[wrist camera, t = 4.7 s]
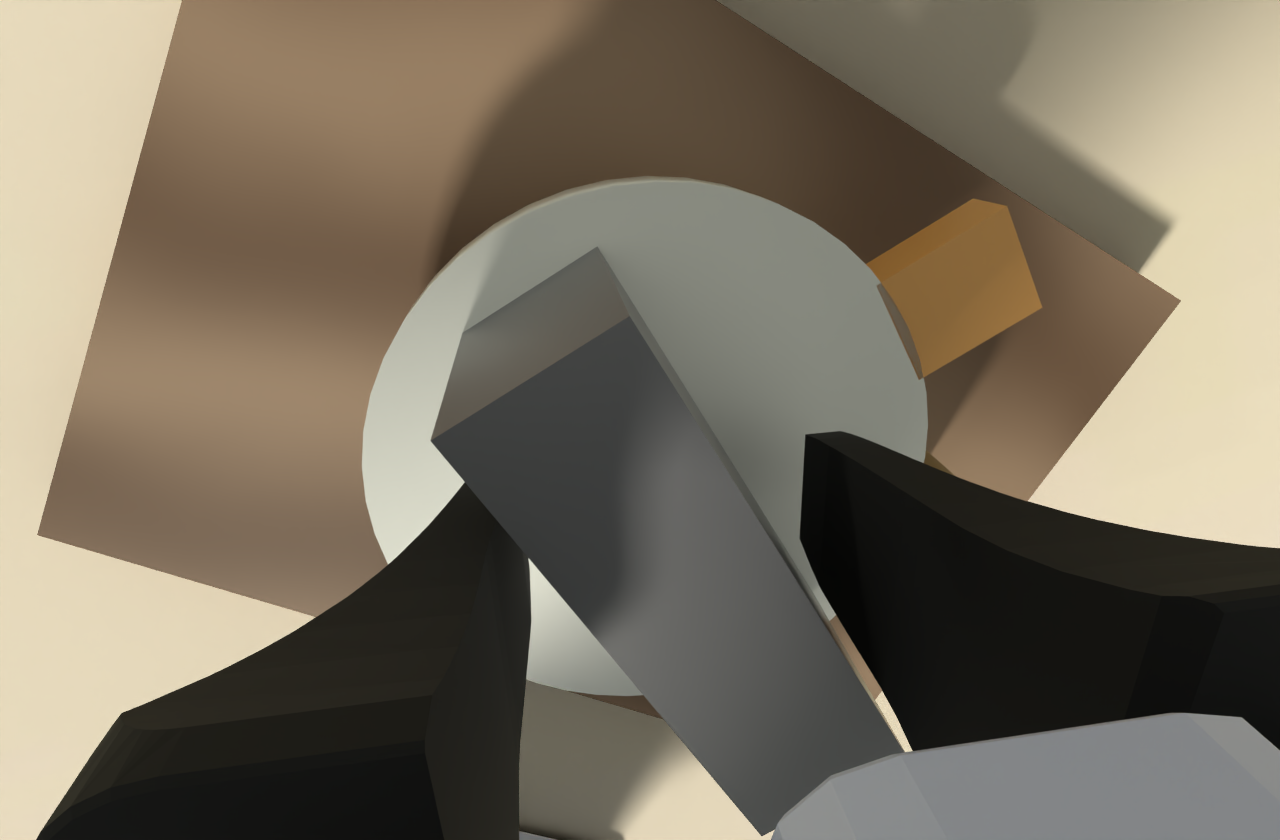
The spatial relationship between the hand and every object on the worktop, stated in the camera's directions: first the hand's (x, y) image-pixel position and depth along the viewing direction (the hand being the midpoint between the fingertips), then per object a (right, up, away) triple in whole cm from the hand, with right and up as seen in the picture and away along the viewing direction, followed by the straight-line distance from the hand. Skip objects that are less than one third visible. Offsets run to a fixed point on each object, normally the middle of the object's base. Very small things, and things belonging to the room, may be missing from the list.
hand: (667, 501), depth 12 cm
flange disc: (+1, +1, +2) cm, 2 cm away
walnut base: (-1, +2, +5) cm, 5 cm away
